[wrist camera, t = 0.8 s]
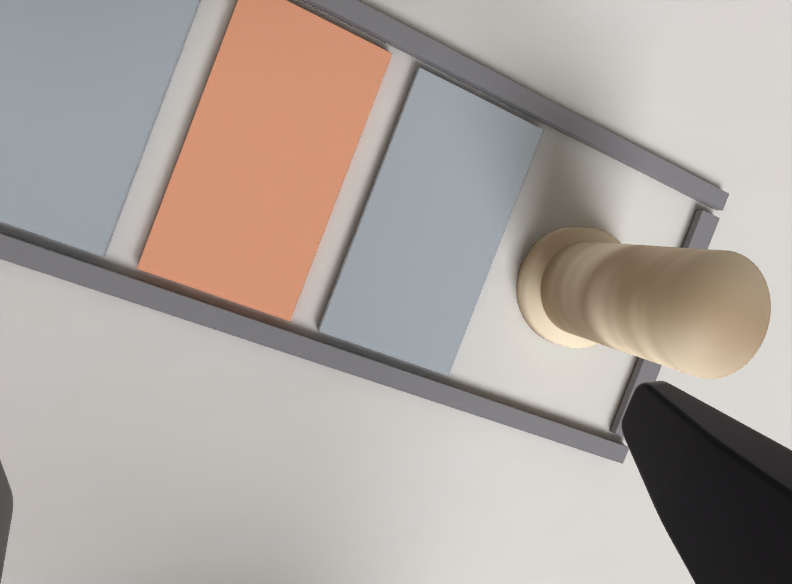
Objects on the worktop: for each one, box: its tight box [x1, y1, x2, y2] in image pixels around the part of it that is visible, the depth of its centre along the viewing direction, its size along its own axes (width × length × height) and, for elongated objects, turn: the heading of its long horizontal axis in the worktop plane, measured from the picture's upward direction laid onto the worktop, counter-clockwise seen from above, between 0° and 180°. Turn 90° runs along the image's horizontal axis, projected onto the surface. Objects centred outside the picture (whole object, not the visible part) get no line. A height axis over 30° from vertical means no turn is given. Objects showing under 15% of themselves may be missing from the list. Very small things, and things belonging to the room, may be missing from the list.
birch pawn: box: [517, 227, 771, 379], centre depth 23 cm, size 5×5×8 cm
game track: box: [0, 0, 729, 463], centre depth 24 cm, size 13×30×1 cm, turn 68°
